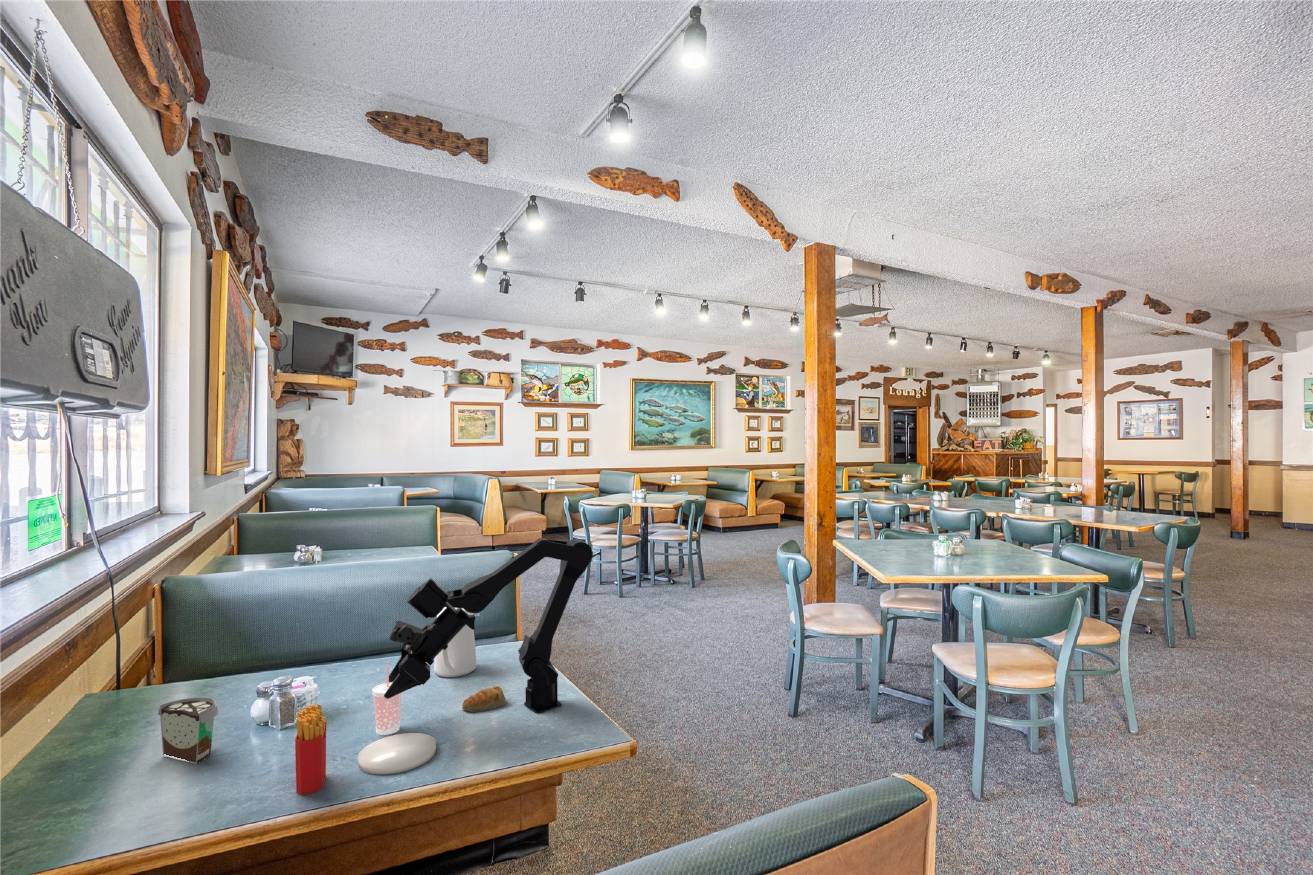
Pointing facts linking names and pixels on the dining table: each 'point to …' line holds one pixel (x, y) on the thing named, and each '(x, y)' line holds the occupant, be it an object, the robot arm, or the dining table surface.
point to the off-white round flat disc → (397, 753)
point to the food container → (188, 728)
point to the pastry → (484, 699)
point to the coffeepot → (457, 654)
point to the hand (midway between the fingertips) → (386, 689)
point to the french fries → (310, 750)
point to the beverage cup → (386, 708)
